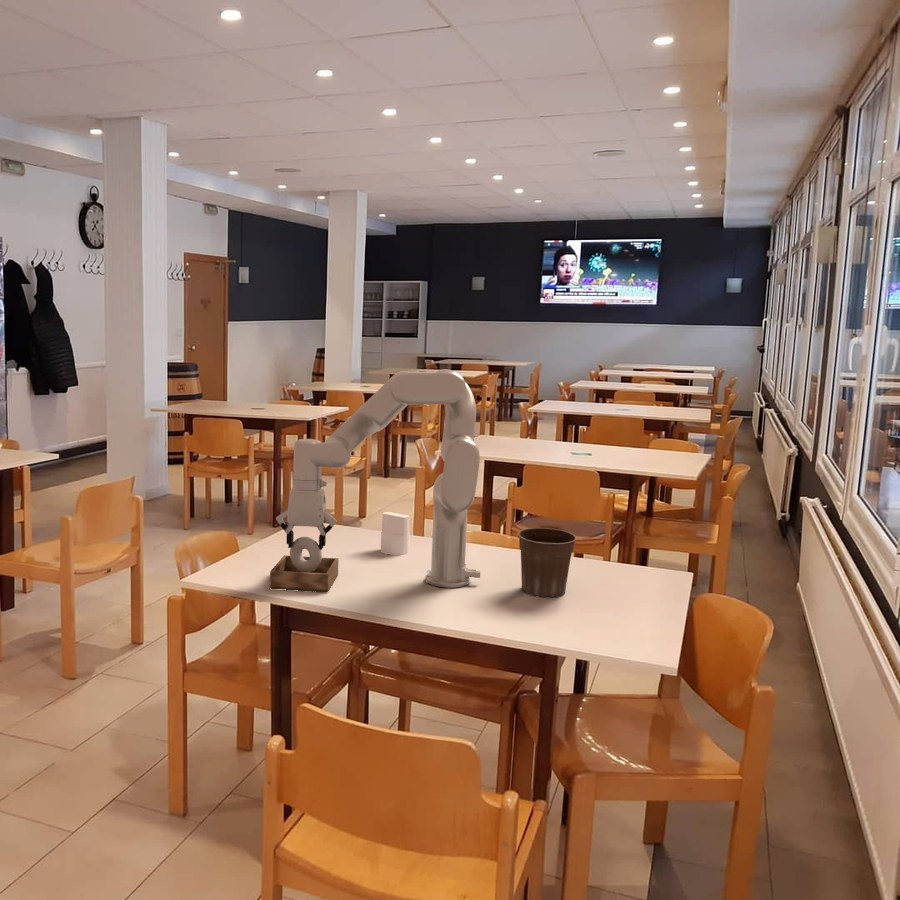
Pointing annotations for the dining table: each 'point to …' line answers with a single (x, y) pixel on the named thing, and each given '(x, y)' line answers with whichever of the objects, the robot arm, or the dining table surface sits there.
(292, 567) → the walnut box
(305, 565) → the donut
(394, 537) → the white block
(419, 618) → the dining table surface
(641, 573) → the dining table surface
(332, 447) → the robot arm
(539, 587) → the plant pot
